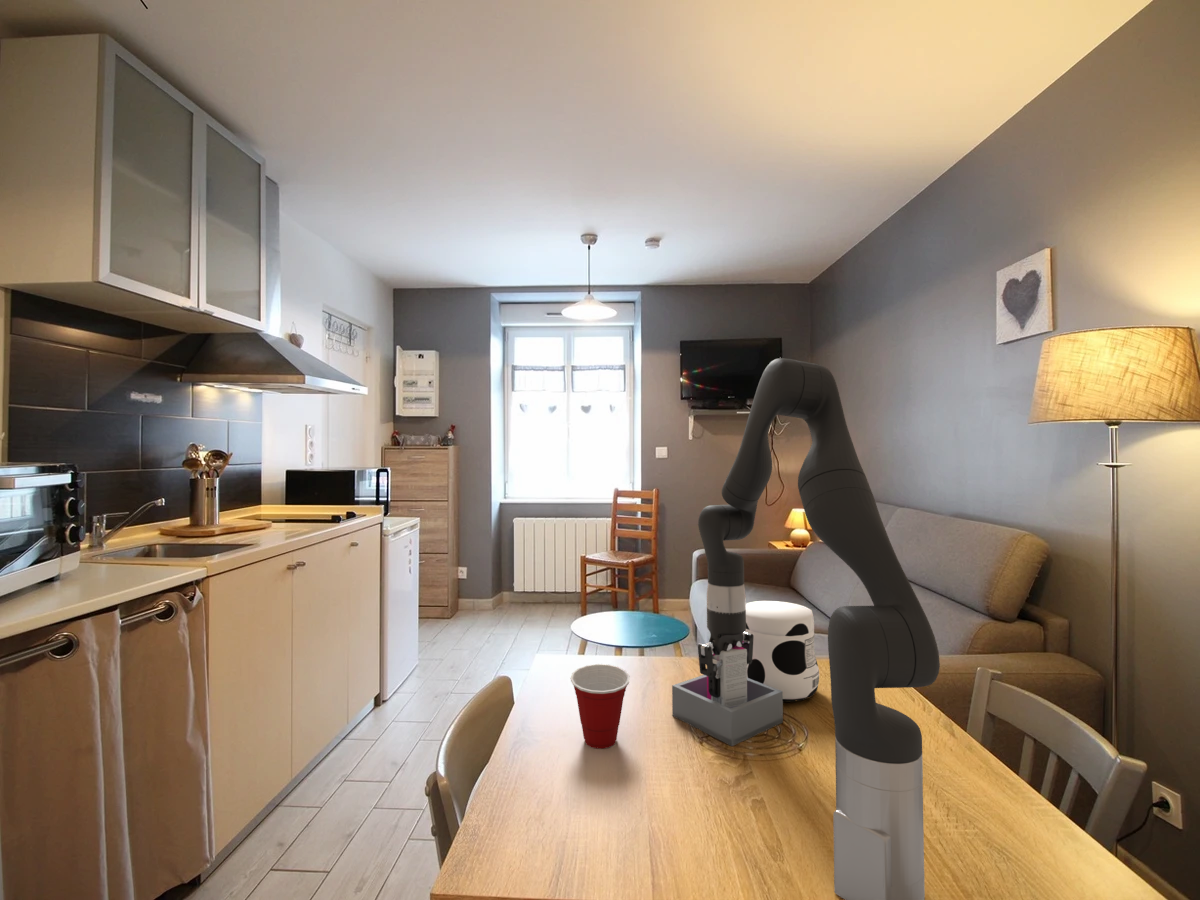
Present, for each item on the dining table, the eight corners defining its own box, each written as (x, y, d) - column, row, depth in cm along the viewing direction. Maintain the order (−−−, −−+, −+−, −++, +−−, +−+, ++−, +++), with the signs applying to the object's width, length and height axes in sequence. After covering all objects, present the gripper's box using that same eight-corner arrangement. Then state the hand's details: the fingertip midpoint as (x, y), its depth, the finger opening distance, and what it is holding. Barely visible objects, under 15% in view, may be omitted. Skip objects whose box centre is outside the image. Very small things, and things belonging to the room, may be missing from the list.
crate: (731, 746, 99) (731, 712, 99) (672, 715, 111) (672, 685, 111) (782, 722, 108) (782, 691, 108) (722, 696, 120) (722, 668, 120)
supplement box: (748, 708, 108) (747, 648, 108) (723, 714, 106) (722, 653, 106) (730, 696, 113) (729, 640, 114) (705, 702, 111) (704, 644, 111)
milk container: (729, 676, 131) (729, 599, 132) (804, 676, 131) (803, 599, 131) (746, 708, 114) (745, 620, 115) (832, 709, 113) (830, 620, 114)
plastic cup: (572, 759, 95) (571, 688, 95) (569, 728, 106) (569, 665, 106) (635, 755, 96) (634, 685, 96) (625, 726, 107) (625, 663, 107)
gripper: (716, 616, 103) (716, 708, 102) (764, 604, 111) (765, 688, 111) (686, 608, 109) (687, 694, 108) (735, 597, 117) (735, 677, 117)
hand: (727, 691), depth 110 cm, fingers closed on supplement box, 6 cm apart
